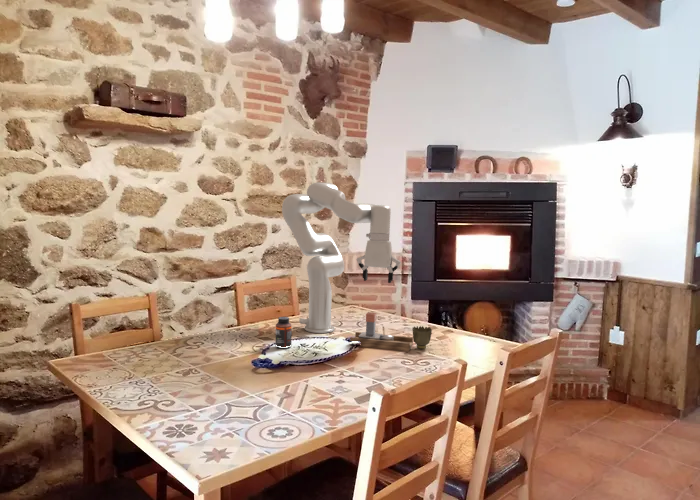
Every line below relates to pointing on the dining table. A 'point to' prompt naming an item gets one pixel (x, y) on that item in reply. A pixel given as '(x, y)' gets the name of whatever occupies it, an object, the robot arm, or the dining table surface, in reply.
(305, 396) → the dining table surface
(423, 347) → the cup
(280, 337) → the supplement bottle
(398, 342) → the board
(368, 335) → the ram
